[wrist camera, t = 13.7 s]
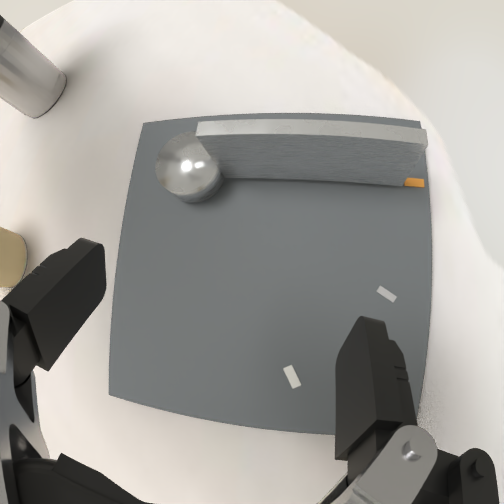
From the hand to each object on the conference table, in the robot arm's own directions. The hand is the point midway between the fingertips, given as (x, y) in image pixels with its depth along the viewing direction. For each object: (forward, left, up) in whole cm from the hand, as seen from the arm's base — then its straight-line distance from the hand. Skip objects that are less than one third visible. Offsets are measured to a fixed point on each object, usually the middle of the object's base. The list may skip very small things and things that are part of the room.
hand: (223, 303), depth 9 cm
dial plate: (-2, +4, -20) cm, 20 cm away
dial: (-1, +12, -18) cm, 21 cm away
